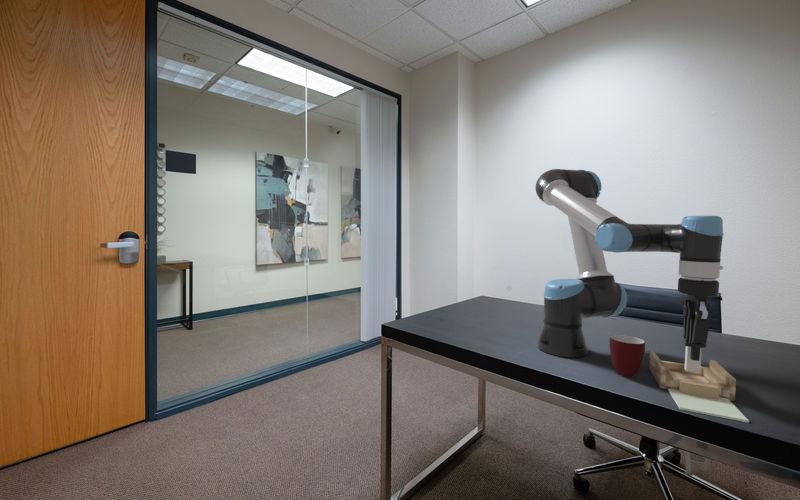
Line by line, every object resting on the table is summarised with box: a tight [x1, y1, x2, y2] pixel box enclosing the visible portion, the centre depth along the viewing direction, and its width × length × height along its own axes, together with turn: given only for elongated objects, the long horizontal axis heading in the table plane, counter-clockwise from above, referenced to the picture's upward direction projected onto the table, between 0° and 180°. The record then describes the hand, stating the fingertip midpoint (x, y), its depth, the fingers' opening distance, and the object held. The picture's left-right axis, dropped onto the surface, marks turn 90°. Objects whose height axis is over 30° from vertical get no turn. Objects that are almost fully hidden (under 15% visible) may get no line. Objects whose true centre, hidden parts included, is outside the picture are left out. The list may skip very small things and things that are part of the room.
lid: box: [667, 380, 750, 424], centre depth 75 cm, size 11×10×4 cm
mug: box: [608, 334, 646, 378], centre depth 92 cm, size 11×8×10 cm
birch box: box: [648, 351, 737, 402], centre depth 86 cm, size 14×13×5 cm
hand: (692, 371), depth 83 cm, fingers closed
